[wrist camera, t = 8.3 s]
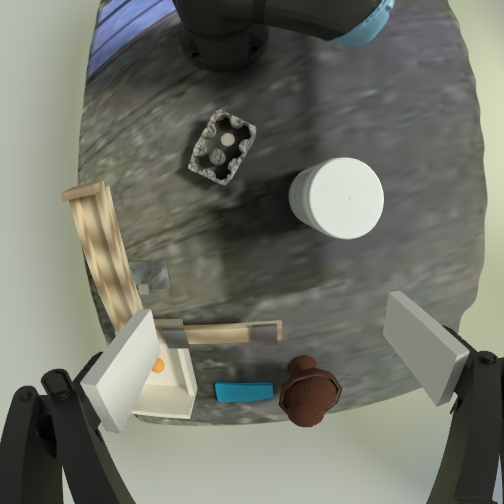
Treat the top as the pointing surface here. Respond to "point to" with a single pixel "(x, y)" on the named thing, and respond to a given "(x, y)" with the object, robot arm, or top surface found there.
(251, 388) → the sponge
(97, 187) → the beige angled channel
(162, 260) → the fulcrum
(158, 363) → the ball
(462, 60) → the top surface
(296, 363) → the ice cream bowl
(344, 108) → the top surface
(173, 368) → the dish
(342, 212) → the supplement tub
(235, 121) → the egg carton
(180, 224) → the top surface
